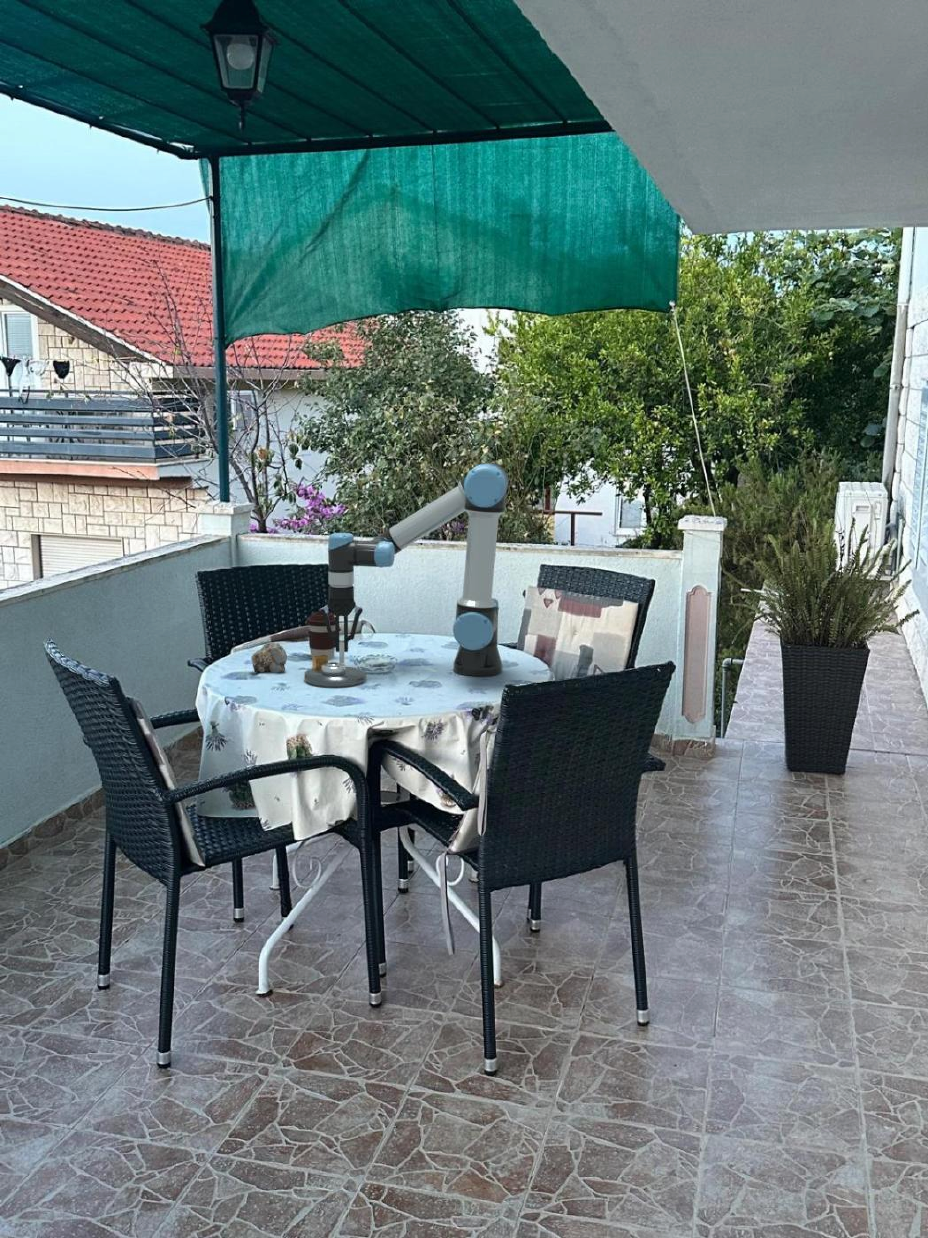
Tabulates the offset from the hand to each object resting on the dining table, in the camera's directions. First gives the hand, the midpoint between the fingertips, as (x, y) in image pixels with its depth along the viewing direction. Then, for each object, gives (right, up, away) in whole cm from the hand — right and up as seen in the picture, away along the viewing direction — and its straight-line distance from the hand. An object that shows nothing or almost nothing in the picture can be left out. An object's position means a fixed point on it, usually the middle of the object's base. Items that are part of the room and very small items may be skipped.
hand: (341, 662), depth 351 cm
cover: (-1, -3, -10) cm, 10 cm away
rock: (-22, -4, +1) cm, 22 cm away
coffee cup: (-8, 0, +19) cm, 21 cm away
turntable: (-2, -5, -8) cm, 9 cm away
